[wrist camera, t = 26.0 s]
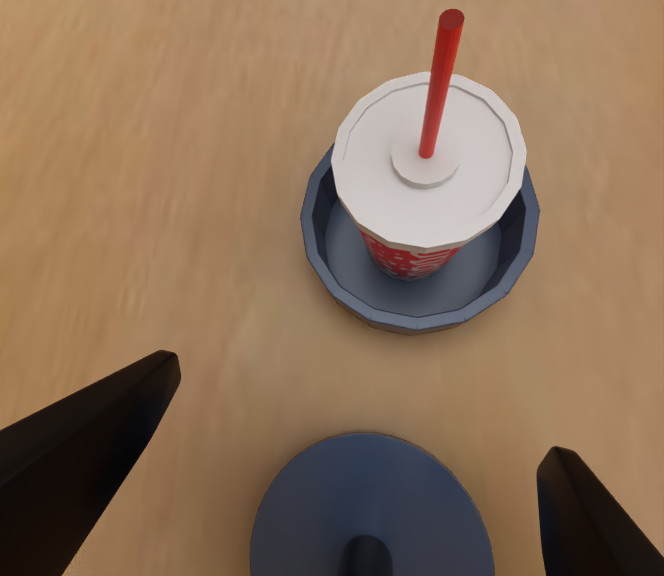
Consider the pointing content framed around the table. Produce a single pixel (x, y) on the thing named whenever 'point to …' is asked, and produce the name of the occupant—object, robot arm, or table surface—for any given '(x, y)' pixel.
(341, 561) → the lid
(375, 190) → the beverage cup
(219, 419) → the table surface
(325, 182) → the pot
